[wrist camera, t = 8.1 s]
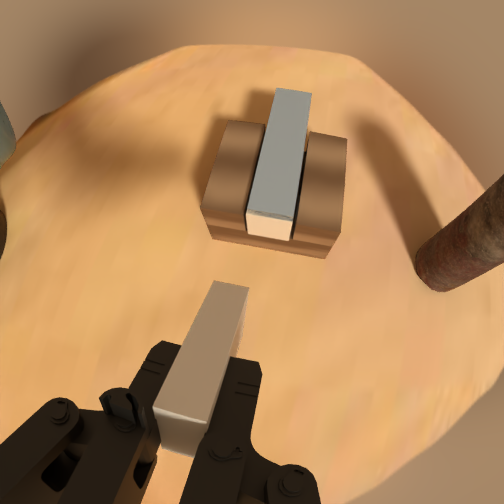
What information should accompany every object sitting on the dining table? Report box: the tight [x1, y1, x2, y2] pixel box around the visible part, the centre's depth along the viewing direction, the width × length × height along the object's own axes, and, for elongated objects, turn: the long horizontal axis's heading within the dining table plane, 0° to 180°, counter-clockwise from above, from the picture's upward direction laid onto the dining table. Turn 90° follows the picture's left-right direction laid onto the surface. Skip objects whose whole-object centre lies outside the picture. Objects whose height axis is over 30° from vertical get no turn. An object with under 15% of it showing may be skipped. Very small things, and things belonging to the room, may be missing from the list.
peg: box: [246, 88, 312, 241], centre depth 34 cm, size 18×4×5 cm, turn 168°
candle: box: [416, 175, 504, 292], centre depth 27 cm, size 8×7×20 cm
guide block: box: [200, 120, 347, 259], centre depth 36 cm, size 12×14×8 cm
